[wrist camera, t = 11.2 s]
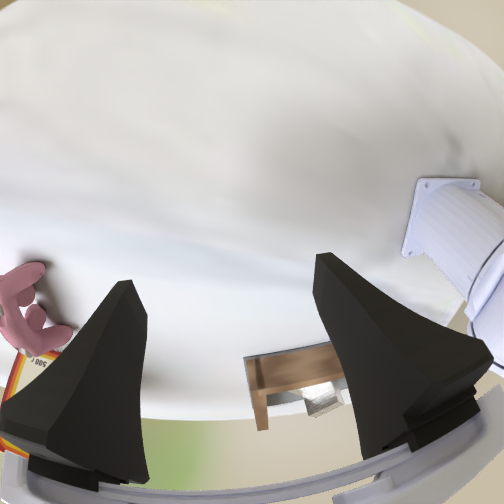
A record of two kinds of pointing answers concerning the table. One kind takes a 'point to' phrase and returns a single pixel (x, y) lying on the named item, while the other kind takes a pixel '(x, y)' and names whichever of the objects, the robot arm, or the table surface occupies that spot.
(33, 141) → the table surface
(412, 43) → the table surface
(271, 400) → the mat
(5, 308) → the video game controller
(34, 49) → the table surface
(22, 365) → the baking soda box
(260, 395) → the corner walls
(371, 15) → the table surface
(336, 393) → the aluminium bracket
